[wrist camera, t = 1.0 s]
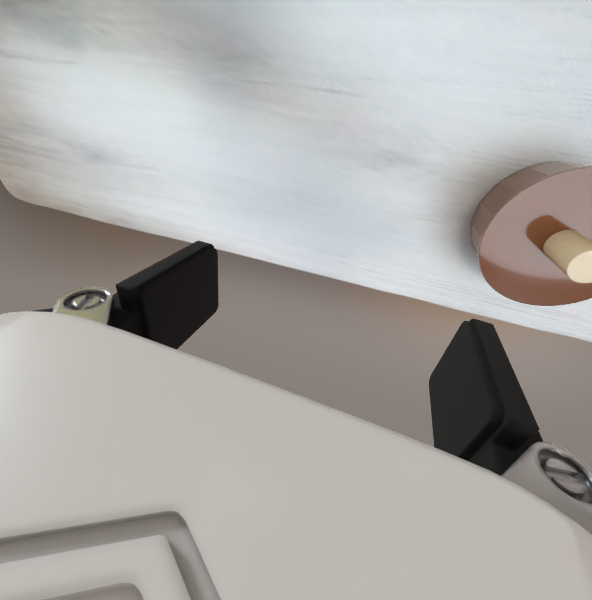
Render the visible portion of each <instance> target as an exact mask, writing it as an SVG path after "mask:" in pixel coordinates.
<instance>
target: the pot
mask: <svg viewBox="0 0 592 600" xmlns="http://www.w3.org/2000/svg"><path fill="white" fill-rule="evenodd" d="M581 166H587V165H581V164H574V163H569V162H559V161H558V162H557V161H556V162H548V163H542V164H537V165H534V166H530V167H527V168H525V169H522V170H520V171H518V172H516V173H514V174H512V175H510V176H509V177H507V178H505V179H504V180H502V181H501V182H500V183H498V184H497V185H496V186H495V187H494V188H493V189H492V190H490V191H489V193H488V194H487V195H486V196H485V197H484V198H483V200H482V201H481V203H480V204H479V206H478V208H477V209H476V211H475V214H474V216H473V220H472V224H471V239H472V244H473V246H474V248H475V250H476V252H477V254H478V245H479V241H480V238H481V235H482V233H483V230H484V228H485V226H486V224H487V223H488V221H489V219H490V218H491V217H492V215H493V214H494V213H495V211H496V210H497V209H498V208H499V207H500V206H501V205H502V204H503V203H504V202H505V201H506V200H508V199H509V198H510V197H511V196H512V195H514V194H515V193H516V192H518V191H519V190H521V189H522V188H524V187H525V186H527V185H529V184H530V183H532V182H534V181H536V180H538V179H540V178H542V177H545V176H547V175H550V174H553V173H555V172H558V171H562V170H566V169H570V168H574V167H581Z"/></svg>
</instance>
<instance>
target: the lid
mask: <svg viewBox="0 0 592 600" xmlns="http://www.w3.org/2000/svg"><path fill="white" fill-rule="evenodd" d="M478 262H479V266H480V269H481V272H482V274H483V276H484V278H485V279H486V281H487V282H488V283H489V285H490V286H491V287H492V288H493V289H495V290H496V291H497V292H498V293H500V294H501V295H503V296H505V297H507V298H509V299H511V300H514V301H517V302H521V303H525V304H530V305H539V306H555V305H565V304H570V303H576V302H579V301H583V300H587V299H590V298H592V166H581V167H574V168H570V169H566V170H562V171H558V172H555V173H553V174H550V175H547V176H545V177H542V178H540V179H538V180H536V181H534V182H532V183H530V184H529V185H527V186H525V187H524V188H522V189H521V190H519V191H518V192H516V193H515V194H514V195H512V196H511V197H510V198H509V199H508V200H506V201H505V202H504V203H503V204H502V205H501V206H500V207H499V208H498V209H497V210H496V211H495V213H494V214H493V215H492V217H491V218H490V219H489V221H488V223H487V224H486V226H485V228H484V230H483V233H482V235H481V238H480V241H479V245H478Z"/></svg>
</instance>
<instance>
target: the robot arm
mask: <svg viewBox="0 0 592 600" xmlns="http://www.w3.org/2000/svg"><path fill="white" fill-rule="evenodd" d="M116 288H117V292H118V293H116V294H114V295H112V292H111V291H109V290H108V289H106V288H101V287H86V288H80V289H76V290H73V291H70V292H68V293H66V294H64V295H63V296H62V297H60V298H59V299H58V301H57V302H56V305H55V307H54V308H52V309H44V310H37V311H28V312H12V313H6V314H1V315H0V600H592V469H591V468H590V467H589V466H587V465H586V464H585V463H584V462H583V461H582V460H581V459H579V458H578V457H577V456H575V455H574V454H572V453H571V452H569V451H568V450H565V449H564V448H562V447H560V446H558V445H555V444H552V443H548V442H543V440H542V438H541V436H540V433H539V431H538V430H539V427H538V425H537V423H536V421H535V418H534V416H533V414H532V411H531V409H530V407H529V405H528V402H527V400H526V398H525V396H524V394H523V391H522V389H521V387H520V384H519V382H518V380H517V378H516V375H515V373H514V371H513V369H512V366H511V364H510V362H509V359H508V357H507V355H506V353H505V350H504V348H503V346H502V344H501V341H500V339H499V337H498V335H497V332H496V330H495V328H494V326H493V325H492V324H490V323H487V322H484V321H480V320H476V319H472V320H470V321H469V322H468V321H464V322H463V323H462V324H461V326H460V327H459V329H458V331H457V333H456V334H455V336H454V338H453V339H452V341H451V343H450V344H449V346H448V347H447V349H446V351H445V353H444V354H443V356H442V358H441V359H440V361H439V363H438V364H437V366H436V368H435V369H434V371H433V373H432V374H431V377H430V380H429V391H430V402H431V413H432V425H433V435H434V436H433V437H434V447H432V446H429V445H427V444H424V443H421V442H419V441H416V440H414V439H411V438H409V437H406V436H403V435H401V434H399V433H396V432H394V431H391V430H388V429H386V428H383V427H380V426H378V425H375V424H373V423H370V422H368V421H365V420H362V419H360V418H357V417H354V416H352V415H349V414H347V413H344V412H341V411H339V410H336V409H333V408H331V407H328V406H326V405H323V404H320V403H318V402H315V401H312V400H310V399H307V398H305V397H302V396H299V395H297V394H294V393H291V392H289V391H286V390H283V389H281V388H278V387H275V386H273V385H270V384H268V383H265V382H262V381H259V380H257V379H254V378H252V377H249V376H246V375H244V374H241V373H238V372H236V371H233V370H230V369H227V368H225V367H222V366H219V365H217V364H214V363H211V362H209V361H206V360H203V359H201V358H198V357H195V356H192V355H190V354H187V353H184V352H181V351H179V350H177V349H178V348H179V347H180V346H181V345H182V344H183V343H184V342H185V341H186V340H187V339H188V338H189V337H190V336H191V335H192V334H193V333H194V332H195V331H196V330H197V329H199V328H200V327H201V326H202V325H203V324H204V323H205V322H206V321H207V320H208V319H209V318H210V317H211V316H212V315H213V314H214V313H215V312H216V310H217V308H218V256H217V250H216V249H214V246H213V245H212V244H208V243H205V242H201V241H196V242H195V243H193V244H191V245H189V246H187V247H185V248H183V249H181V250H180V251H178V252H176V253H174V254H172V255H170V256H168V257H167V258H165V259H163V260H161V261H159V262H157V263H155V264H153V265H152V266H150V267H148V268H146V269H144V270H143V271H140V272H139V273H137V274H135V275H133V276H131V277H129V278H127V279H125V280H123V281H122V282H120V283H118V284H116Z"/></svg>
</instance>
